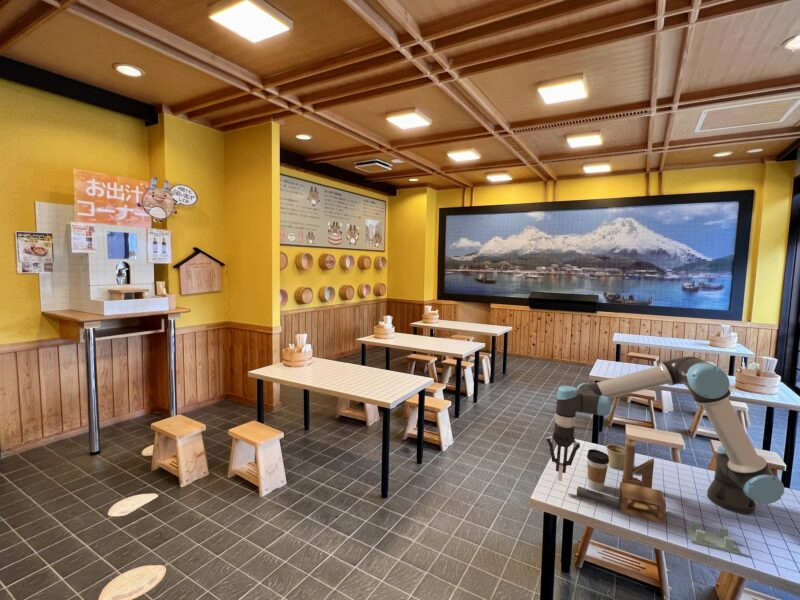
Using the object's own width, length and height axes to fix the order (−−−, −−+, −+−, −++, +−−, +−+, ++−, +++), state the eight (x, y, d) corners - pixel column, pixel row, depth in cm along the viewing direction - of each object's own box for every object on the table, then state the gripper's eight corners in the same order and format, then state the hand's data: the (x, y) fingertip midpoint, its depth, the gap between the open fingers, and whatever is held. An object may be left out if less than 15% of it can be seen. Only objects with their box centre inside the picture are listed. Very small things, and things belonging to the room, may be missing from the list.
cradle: (729, 539, 139) (731, 528, 139) (738, 554, 132) (740, 542, 131) (685, 528, 144) (686, 517, 144) (691, 542, 137) (692, 531, 136)
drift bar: (624, 507, 156) (625, 500, 156) (623, 511, 154) (624, 504, 153) (577, 493, 165) (578, 486, 165) (576, 496, 163) (576, 489, 162)
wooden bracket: (651, 494, 166) (655, 452, 164) (621, 486, 171) (625, 445, 169) (650, 489, 169) (654, 449, 167) (621, 482, 174) (625, 442, 173)
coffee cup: (587, 479, 176) (590, 446, 174) (608, 486, 170) (611, 453, 169) (582, 487, 169) (584, 453, 168) (604, 495, 164) (607, 460, 162)
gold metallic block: (653, 511, 154) (655, 498, 154) (656, 518, 150) (657, 506, 149) (624, 504, 158) (625, 492, 158) (626, 511, 154) (627, 499, 153)
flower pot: (627, 465, 189) (629, 447, 189) (626, 473, 181) (628, 455, 181) (605, 459, 194) (607, 442, 194) (603, 467, 186) (605, 450, 186)
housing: (658, 508, 155) (660, 490, 155) (664, 523, 147) (666, 503, 146) (618, 499, 161) (620, 481, 160) (621, 512, 152) (622, 493, 152)
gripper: (581, 424, 163) (576, 478, 166) (548, 418, 168) (543, 471, 171) (582, 431, 156) (577, 487, 159) (547, 424, 161) (542, 479, 164)
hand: (559, 479), depth 165 cm, fingers closed
